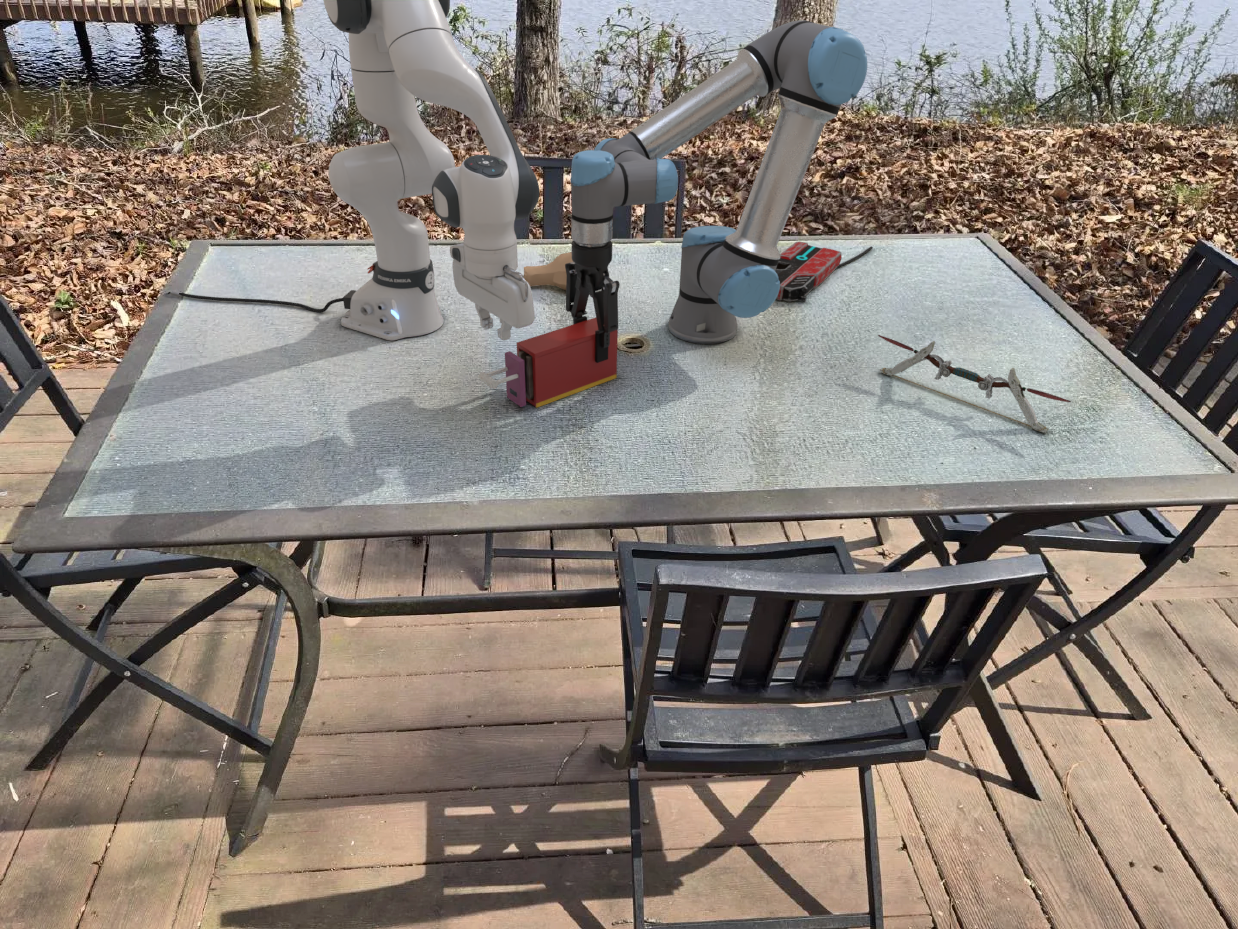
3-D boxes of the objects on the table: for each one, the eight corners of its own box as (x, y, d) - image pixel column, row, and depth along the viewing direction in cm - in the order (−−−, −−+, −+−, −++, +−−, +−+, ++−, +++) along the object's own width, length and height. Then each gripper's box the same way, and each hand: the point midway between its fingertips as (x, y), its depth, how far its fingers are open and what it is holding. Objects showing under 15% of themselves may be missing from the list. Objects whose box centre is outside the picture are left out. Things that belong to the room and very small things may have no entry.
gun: (728, 271, 214) (803, 290, 206) (777, 233, 236) (846, 249, 228) (726, 288, 217) (800, 308, 209) (775, 249, 239) (843, 266, 231)
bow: (1060, 435, 162) (1077, 387, 156) (1056, 439, 161) (1073, 391, 155) (873, 366, 183) (882, 322, 178) (869, 369, 182) (878, 325, 177)
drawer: (493, 417, 161) (490, 371, 156) (479, 407, 164) (476, 361, 159) (598, 378, 174) (598, 335, 169) (583, 369, 177) (583, 326, 172)
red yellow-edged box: (536, 407, 166) (534, 354, 160) (518, 395, 170) (516, 342, 163) (616, 377, 177) (618, 326, 170) (598, 366, 180) (598, 316, 174)
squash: (606, 296, 211) (601, 263, 205) (524, 303, 213) (517, 271, 207) (606, 272, 219) (602, 240, 213) (527, 279, 221) (521, 248, 214)
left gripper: (542, 272, 143) (544, 349, 151) (475, 237, 156) (480, 309, 164) (510, 281, 140) (513, 359, 147) (444, 244, 152) (450, 318, 160)
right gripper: (641, 251, 156) (636, 366, 169) (576, 222, 168) (576, 332, 181) (608, 259, 152) (606, 377, 165) (545, 230, 164) (547, 342, 177)
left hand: (495, 332), depth 156 cm, fingers open, 4 cm apart
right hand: (591, 354), depth 173 cm, fingers closed on red yellow-edged box, 6 cm apart
